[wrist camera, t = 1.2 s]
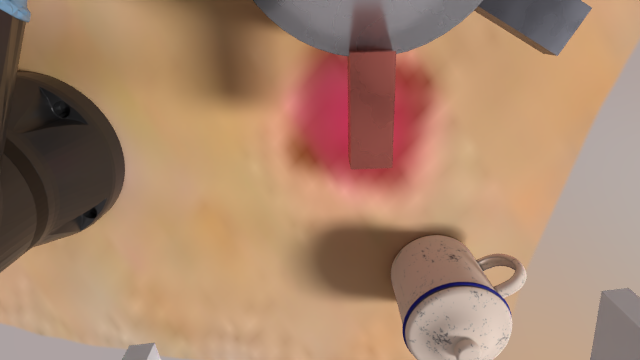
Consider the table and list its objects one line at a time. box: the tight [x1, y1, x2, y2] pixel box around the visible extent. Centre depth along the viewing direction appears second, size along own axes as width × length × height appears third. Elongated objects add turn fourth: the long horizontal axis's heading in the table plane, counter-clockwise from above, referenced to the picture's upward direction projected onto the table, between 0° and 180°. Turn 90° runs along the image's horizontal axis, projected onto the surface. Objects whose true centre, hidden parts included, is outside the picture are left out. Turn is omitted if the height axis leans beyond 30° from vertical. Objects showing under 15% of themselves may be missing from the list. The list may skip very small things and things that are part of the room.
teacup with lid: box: [391, 235, 527, 360], centre depth 36 cm, size 12×9×12 cm
